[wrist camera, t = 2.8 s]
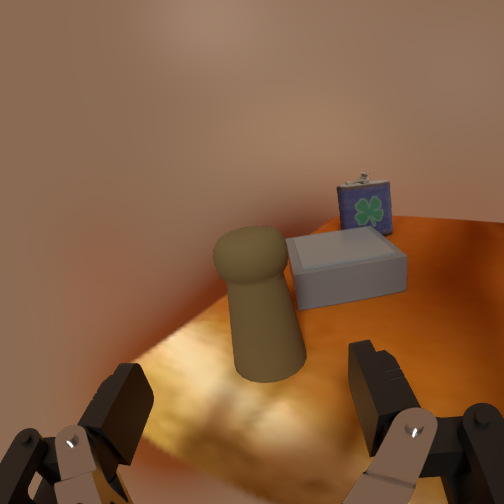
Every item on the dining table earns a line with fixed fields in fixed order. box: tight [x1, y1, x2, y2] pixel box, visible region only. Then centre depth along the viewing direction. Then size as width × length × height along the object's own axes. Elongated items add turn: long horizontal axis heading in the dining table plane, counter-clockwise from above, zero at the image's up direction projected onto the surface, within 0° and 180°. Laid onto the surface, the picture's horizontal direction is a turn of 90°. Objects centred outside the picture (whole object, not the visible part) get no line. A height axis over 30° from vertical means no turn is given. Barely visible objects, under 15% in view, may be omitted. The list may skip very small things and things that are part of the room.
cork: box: [213, 226, 306, 383], centre depth 22 cm, size 6×6×11 cm
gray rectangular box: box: [286, 226, 407, 311], centre depth 35 cm, size 12×12×4 cm
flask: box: [337, 172, 393, 236], centre depth 45 cm, size 9×3×11 cm, turn 92°
